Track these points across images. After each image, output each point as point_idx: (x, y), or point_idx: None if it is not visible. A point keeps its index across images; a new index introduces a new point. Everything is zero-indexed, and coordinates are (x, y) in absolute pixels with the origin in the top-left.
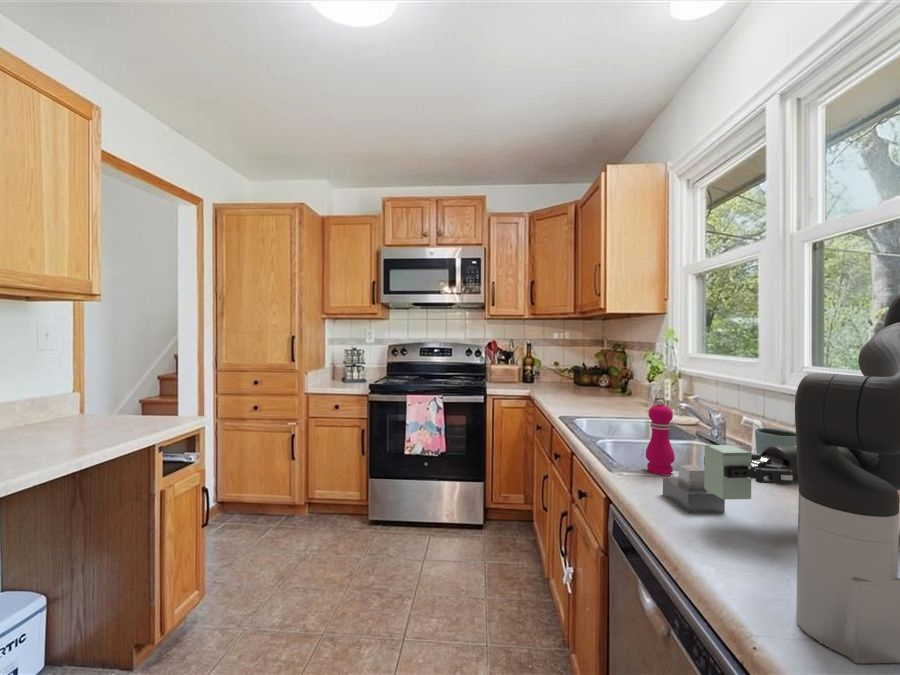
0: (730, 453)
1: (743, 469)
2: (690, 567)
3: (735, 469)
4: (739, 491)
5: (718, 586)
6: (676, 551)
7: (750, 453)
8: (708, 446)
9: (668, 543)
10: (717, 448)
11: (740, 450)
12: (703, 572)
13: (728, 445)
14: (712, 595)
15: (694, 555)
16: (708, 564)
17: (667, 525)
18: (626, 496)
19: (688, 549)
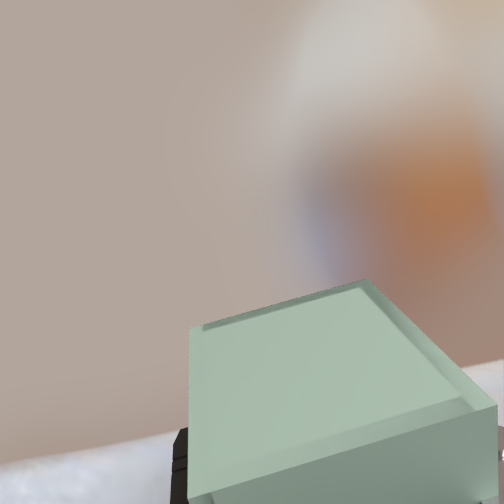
0: (191, 359)
1: (175, 500)
2: (95, 449)
3: (179, 450)
4: None
5: (19, 483)
6: (160, 436)
7: (191, 493)
8: (337, 289)
9: None
10: (295, 316)
11: (265, 426)
12: (71, 469)
13: (437, 378)
14: (4, 464)
15: (137, 469)
16: (95, 489)
17: None
18: (493, 363)
19: (166, 462)
